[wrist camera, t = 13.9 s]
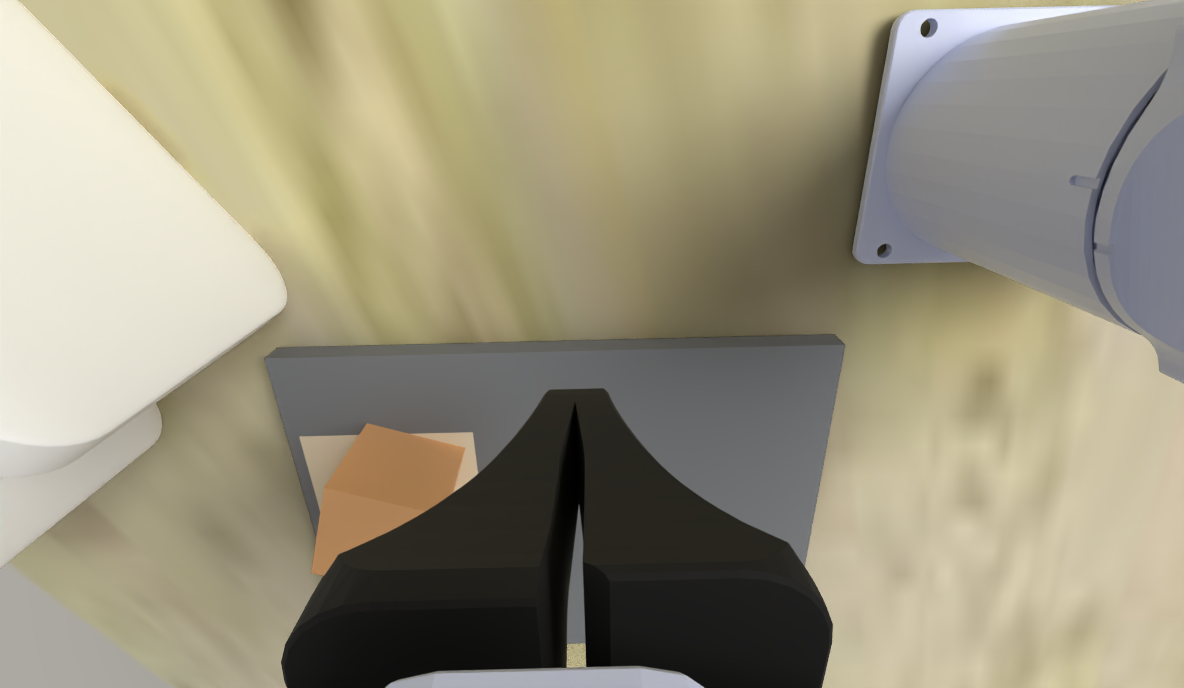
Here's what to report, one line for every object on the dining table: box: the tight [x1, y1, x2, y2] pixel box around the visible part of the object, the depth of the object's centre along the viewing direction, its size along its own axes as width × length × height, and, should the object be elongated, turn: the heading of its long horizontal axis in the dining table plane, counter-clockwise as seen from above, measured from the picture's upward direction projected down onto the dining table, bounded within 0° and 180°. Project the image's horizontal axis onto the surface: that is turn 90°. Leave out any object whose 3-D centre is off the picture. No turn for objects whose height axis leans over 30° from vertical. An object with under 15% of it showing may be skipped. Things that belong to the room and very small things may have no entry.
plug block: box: [311, 423, 465, 576], centre depth 21 cm, size 4×4×4 cm
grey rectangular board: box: [264, 334, 845, 644], centre depth 25 cm, size 22×16×1 cm
